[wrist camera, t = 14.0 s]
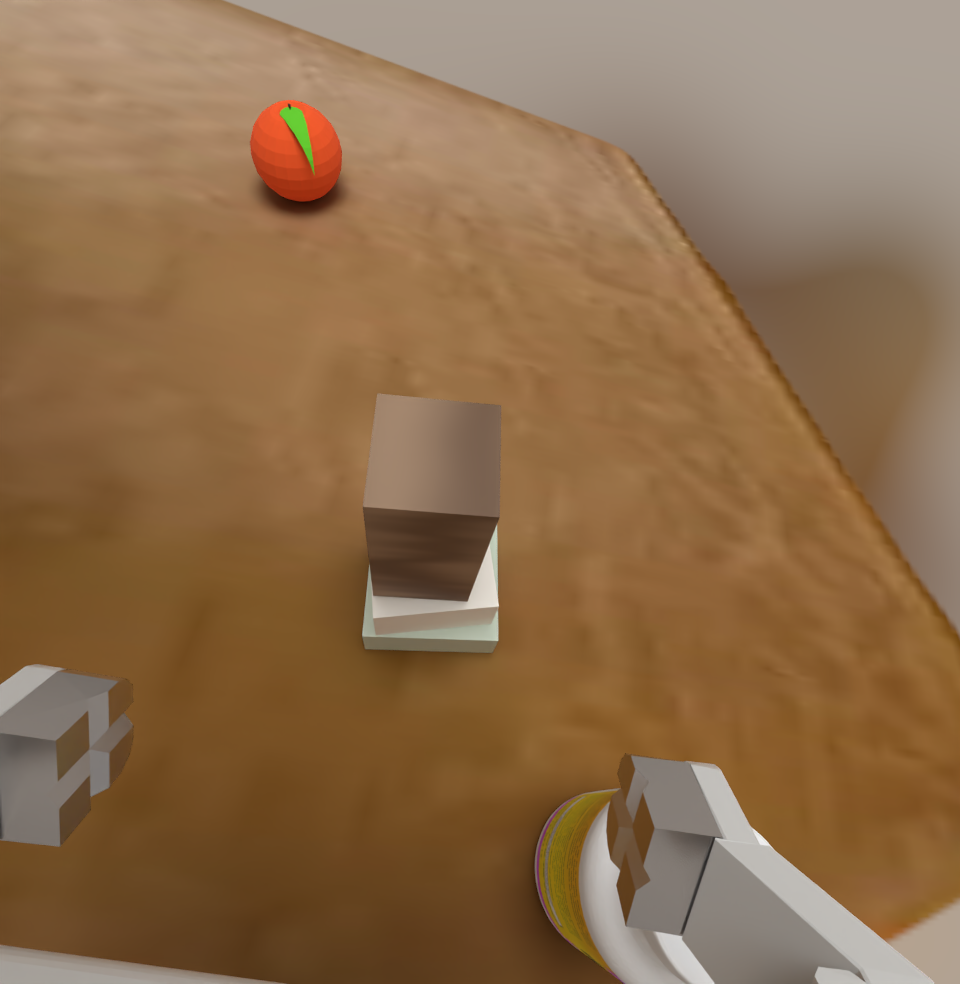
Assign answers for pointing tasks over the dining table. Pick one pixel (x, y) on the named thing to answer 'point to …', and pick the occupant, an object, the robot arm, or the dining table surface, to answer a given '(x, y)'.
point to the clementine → (296, 151)
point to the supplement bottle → (603, 899)
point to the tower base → (439, 639)
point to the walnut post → (431, 495)
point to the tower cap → (439, 608)
